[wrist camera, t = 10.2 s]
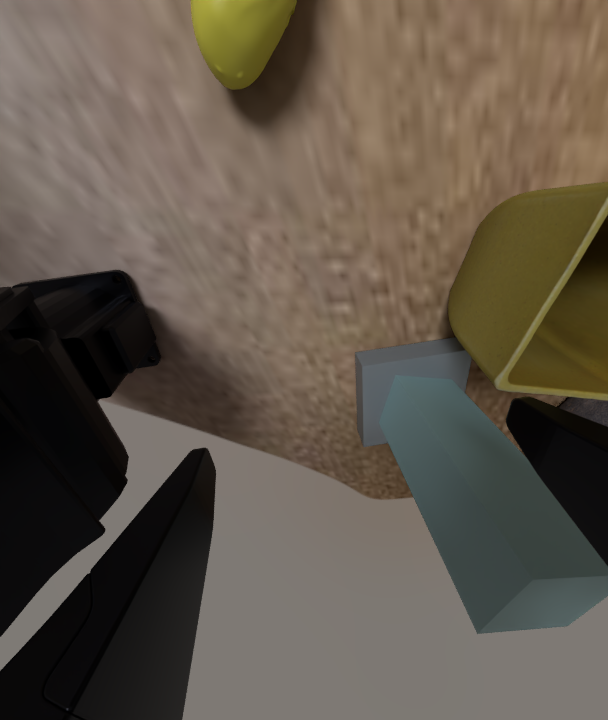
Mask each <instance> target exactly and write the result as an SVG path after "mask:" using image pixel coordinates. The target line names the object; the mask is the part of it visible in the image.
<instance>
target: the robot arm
mask: <svg viewBox="0 0 608 720" xmlns="http://www.w3.org/2000/svg"><path fill="white" fill-rule="evenodd" d="M115 276H118V277H120V279H121V282H118V281H116V279H115ZM155 340H156V336H155V334H154V331H153V329H152V326H151V324H150V321H149V319H148V316H147V314H146V312H145V309H144V307H143V305H142V304H141V303H140V302H138V300H137V298H136V295H135V293H134V290H133V288H132V286H131V283H130V281H129V278H128V276H127V275H126V274H125V273H124V272H123V271H121V270H111V271H104V272H96V273H89V274H82V275H75V276H68V277H61V278H54V279H46V280H39V281H32V282H25V283H20V284H17V285H15V286H13V287H12V288H11V287H0V637H1V636H2V635H3V633H4V632H5V631H6V630H7V629H8V627H9V626H10V625H11V623H12V622H13V621H14V620H15V619H16V618H17V616H18V615H19V614H20V613H21V612H22V610H23V609H24V608H25V607H26V605H27V604H28V603H29V602H30V601H31V599H32V598H33V597H34V596H35V594H36V593H37V592H38V591H39V590H40V589H41V588H42V587H43V585H44V584H45V583H46V582H47V581H48V580H49V579H50V578H51V577H52V576H53V575H54V574H55V573H56V572H57V571H58V570H59V569H60V568H61V567H62V566H63V565H65V564H66V563H67V562H68V561H69V560H70V559H71V558H72V557H73V556H74V555H75V554H77V553H78V552H80V551H81V550H82V549H84V548H85V547H87V546H88V545H89V544H91V543H92V542H94V541H95V540H96V539H98V538H99V537H101V536H102V535H103V534H104V532H105V528H104V526H103V525H102V524H101V523H100V522H99V520H100V519H101V518H102V517H103V516H104V514H105V513H106V512H107V511H108V510H109V508H110V507H111V506H112V505H113V504H114V502H115V501H116V500H117V499H118V497H119V496H120V495H121V493H122V491H123V489H124V487H125V486H126V484H127V481H128V480H127V478H126V476H125V474H126V472H127V465H128V458H129V456H128V454H127V452H126V449H125V447H124V445H123V443H122V442H121V440H120V438H119V437H118V435H117V433H116V432H115V430H114V428H113V427H112V425H111V423H110V422H109V420H108V418H107V417H106V415H105V413H104V412H103V410H102V408H101V407H100V405H99V403H98V401H99V399H101V398H108V397H110V396H111V395H112V394H113V393H114V391H115V390H116V389H117V387H118V386H119V385H120V383H121V382H122V380H123V379H124V378H125V376H126V375H127V374H128V373H132V372H133V371H134V370H135V369H136V368H142V367H149V366H155V365H157V364H158V363H159V362H160V360H161V355H160V353H159V350H158V348H157V346H156V343H155ZM150 356H152V357H154V358H155V360H152V359H151V358H150ZM506 424H507V427H508V429H509V430H510V432H511V433H512V435H513V437H514V438H515V440H516V441H517V443H518V445H519V446H520V448H521V449H522V451H523V453H524V454H525V456H526V457H527V459H528V461H529V462H530V464H531V465H532V467H533V468H534V470H535V472H536V473H537V474H538V476H539V477H540V479H541V480H542V481H543V483H544V484H545V485H546V487H547V488H548V489H549V490H550V492H551V493H552V494H553V496H554V497H555V498H556V500H557V501H558V502H559V504H560V505H561V506H562V507H563V509H564V510H565V511H566V513H567V514H568V515H569V517H570V518H571V519H572V521H573V522H574V523H575V525H576V526H577V527H578V528H579V530H580V531H581V532H582V534H583V535H584V536H585V538H586V539H587V540H588V542H589V543H590V544H591V545H592V547H593V548H594V549H595V551H596V552H597V553H598V555H599V556H600V557H601V559H602V560H603V561H604V562H605V564H606V565H607V566H608V427H607V426H605V425H602V424H600V423H597V422H594V421H592V420H589V419H587V418H584V417H581V416H579V415H576V414H573V413H571V412H568V411H566V410H563V409H560V408H558V407H555V406H553V405H550V404H547V403H545V402H542V401H540V400H537V399H534V398H532V397H521V398H515V399H513V400H512V402H511V405H510V408H509V411H508V414H507V418H506ZM215 480H216V470H215V466H214V463H213V461H212V458H211V456H210V453H209V451H208V449H207V448H200V449H194V450H192V451H190V453H189V454H188V455H187V456H186V457H185V458H184V460H183V461H182V462H181V463H180V464H179V466H178V467H177V468H176V469H175V470H174V472H173V473H172V474H171V475H170V476H169V477H168V479H167V480H166V481H165V482H164V483H163V485H162V486H161V487H160V488H159V489H158V491H157V492H156V493H155V494H154V495H153V497H152V498H151V499H150V500H149V501H148V502H147V504H146V505H145V506H144V507H143V509H142V510H141V511H140V512H139V513H138V514H137V516H136V517H135V518H134V519H133V520H132V521H131V523H130V524H129V525H128V526H127V527H126V529H125V530H124V531H123V532H122V533H121V535H120V536H119V537H118V538H117V539H116V541H115V542H114V543H113V544H112V545H111V547H110V548H109V549H108V550H107V551H106V552H105V554H104V555H103V556H102V557H101V558H100V560H99V561H98V562H97V563H96V564H95V565H94V567H93V568H92V569H91V571H90V573H89V574H87V575H86V576H85V577H84V578H83V580H82V581H81V582H80V583H79V584H78V586H77V587H76V588H75V589H74V590H73V591H72V593H71V594H70V595H69V596H68V597H67V599H66V600H65V601H64V602H63V603H62V604H61V605H60V607H59V608H58V609H57V610H56V611H55V612H54V613H53V614H52V616H51V617H50V618H49V619H48V620H47V621H46V622H45V623H44V625H43V626H42V627H41V628H40V629H39V630H38V631H37V632H36V633H35V634H34V635H33V636H32V638H31V639H30V640H29V641H28V642H27V643H26V644H25V645H24V646H23V647H22V648H21V650H20V651H19V652H18V653H17V654H16V655H15V656H14V657H13V658H12V659H11V660H10V661H9V662H8V663H7V664H6V666H5V667H4V668H3V669H2V670H1V671H0V720H182V717H183V711H184V705H185V699H186V693H187V686H188V680H189V674H190V668H191V662H192V655H193V649H194V643H195V637H196V630H197V625H198V619H199V612H200V606H201V600H202V594H203V588H204V582H205V575H206V569H207V563H208V557H209V551H210V544H211V538H212V530H213V520H214V501H215V500H214V499H215V482H216V481H215Z"/></svg>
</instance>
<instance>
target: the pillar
mask: <svg viewBox="0 0 608 720" xmlns="http://www.w3.org/2000/svg"><path fill="white" fill-rule="evenodd" d="M379 424H380V427H381V429H382V431H383V433H384V435H385V437H386V439H387V442H388V444H389V446H390V448H391V450H392V452H393V454H394V457H395V459H396V461H397V463H398V465H399V467H400V469H401V471H402V474H403V476H404V478H405V480H406V482H407V484H408V486H409V489H410V491H411V493H412V495H413V497H414V499H415V501H416V504H417V506H418V508H419V510H420V512H421V514H422V516H423V518H424V521H425V522H426V525H427V527H428V529H429V531H430V533H431V535H432V538H433V540H434V542H435V544H436V546H437V548H438V550H439V553H440V555H441V557H442V559H443V561H444V563H445V565H446V568H447V570H448V572H449V574H450V576H451V578H452V580H453V583H454V585H455V587H456V589H457V591H458V593H459V595H460V598H461V600H462V602H463V604H464V606H465V608H466V610H467V612H468V615H469V617H470V619H471V621H472V623H473V625H474V628H475V630H476V632H477V634H480V633H492V632H503V631H516V630H527V629H540V628H552V627H564V626H568V625H569V624H571V623H572V622H573V621H575V620H576V619H578V618H579V617H580V616H582V615H583V614H584V613H586V612H587V611H588V610H589V609H591V608H592V607H594V606H595V605H596V604H598V603H599V602H600V601H602V600H603V599H604V598H606V597H607V596H608V566H607V565H606V564H605V562H604V561H603V560H602V559H601V557H600V556H599V555H598V553H597V552H596V551H595V549H594V548H593V547H592V545H591V544H590V543H589V542H588V540H587V539H586V538H585V536H584V535H583V534H582V532H581V531H580V530H579V528H578V527H577V526H576V525H575V523H574V522H573V521H572V519H571V518H570V517H569V515H568V514H567V513H566V511H565V510H564V509H563V507H562V506H561V505H560V504H559V502H558V501H557V500H556V498H555V497H554V496H553V494H552V493H551V492H550V490H549V489H548V488H547V487H546V485H545V484H544V483H543V481H542V480H541V479H540V477H539V476H538V474H537V473H536V472H535V470H534V468H533V467H532V465H531V464H530V462H529V461H528V459H527V458H526V457H525V456H524V455H523V454H522V453H521V452H520V451H519V450H518V449H517V447H516V446H515V445H514V444H513V443H512V442H511V441H510V440H509V439H508V438H507V437H506V436H505V435H504V434H503V433H502V432H501V431H500V430H499V429H498V427H497V426H496V425H495V424H494V423H493V422H492V421H491V420H490V419H489V418H488V417H487V416H486V415H485V414H484V413H483V412H482V411H481V410H480V408H479V407H478V406H477V405H476V404H475V403H474V402H473V401H472V400H471V399H470V398H469V397H468V396H467V395H466V394H465V393H464V392H463V391H462V390H461V388H460V387H459V386H458V385H457V384H456V383H455V382H454V381H453V380H452V379H440V378H426V377H412V376H398V375H395V378H394V381H393V384H392V387H391V389H390V392H389V395H388V398H387V401H386V404H385V406H384V409H383V412H382V415H381V418H380V421H379Z"/></svg>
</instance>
